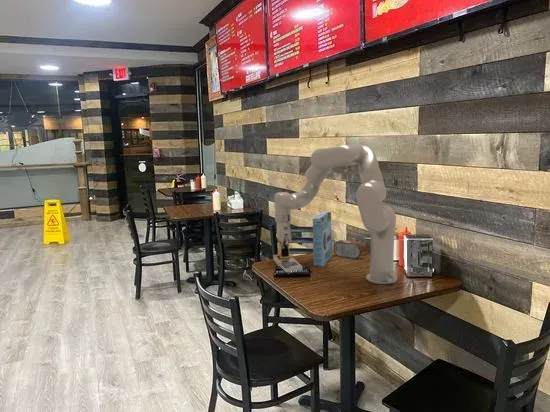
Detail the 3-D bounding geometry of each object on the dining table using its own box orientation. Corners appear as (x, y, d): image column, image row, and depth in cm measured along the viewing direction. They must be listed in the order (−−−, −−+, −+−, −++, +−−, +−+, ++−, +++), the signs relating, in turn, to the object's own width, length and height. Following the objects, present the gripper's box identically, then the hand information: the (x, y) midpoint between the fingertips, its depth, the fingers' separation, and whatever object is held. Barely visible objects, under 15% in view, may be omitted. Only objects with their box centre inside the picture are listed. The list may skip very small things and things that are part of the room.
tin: (363, 258, 210) (363, 242, 208) (360, 260, 207) (360, 243, 206) (335, 254, 218) (335, 238, 216) (332, 256, 215) (332, 240, 214)
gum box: (323, 267, 197) (322, 219, 194) (312, 266, 199) (311, 218, 195) (332, 256, 215) (331, 212, 212) (322, 255, 217) (321, 211, 213)
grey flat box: (302, 272, 190) (302, 266, 190) (285, 274, 188) (285, 268, 188) (288, 259, 211) (288, 253, 211) (273, 261, 209) (273, 255, 209)
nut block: (289, 261, 204) (289, 242, 202) (280, 262, 203) (280, 243, 201) (287, 258, 208) (286, 240, 207) (278, 259, 207) (277, 241, 205)
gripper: (295, 220, 195) (296, 259, 198) (285, 214, 211) (286, 249, 214) (279, 222, 193) (280, 260, 196) (271, 215, 209) (272, 251, 212)
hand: (283, 254), depth 205 cm, fingers open, 4 cm apart
